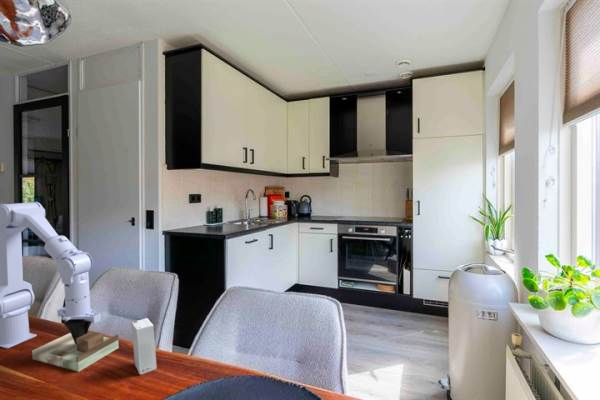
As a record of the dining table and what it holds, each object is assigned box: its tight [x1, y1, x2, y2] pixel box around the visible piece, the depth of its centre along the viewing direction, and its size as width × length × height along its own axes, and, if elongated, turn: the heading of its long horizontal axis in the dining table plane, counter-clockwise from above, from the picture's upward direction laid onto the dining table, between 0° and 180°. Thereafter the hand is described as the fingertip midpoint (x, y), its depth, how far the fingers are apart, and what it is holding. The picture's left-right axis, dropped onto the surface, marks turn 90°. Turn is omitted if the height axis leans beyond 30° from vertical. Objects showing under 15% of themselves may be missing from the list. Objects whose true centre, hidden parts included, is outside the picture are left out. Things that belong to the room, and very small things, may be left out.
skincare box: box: [131, 317, 157, 375], centre depth 83 cm, size 6×4×12 cm
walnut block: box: [76, 330, 104, 352], centre depth 88 cm, size 4×4×4 cm
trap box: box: [31, 332, 120, 372], centre depth 90 cm, size 18×12×4 cm, turn 71°
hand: (80, 343), depth 90 cm, fingers closed
